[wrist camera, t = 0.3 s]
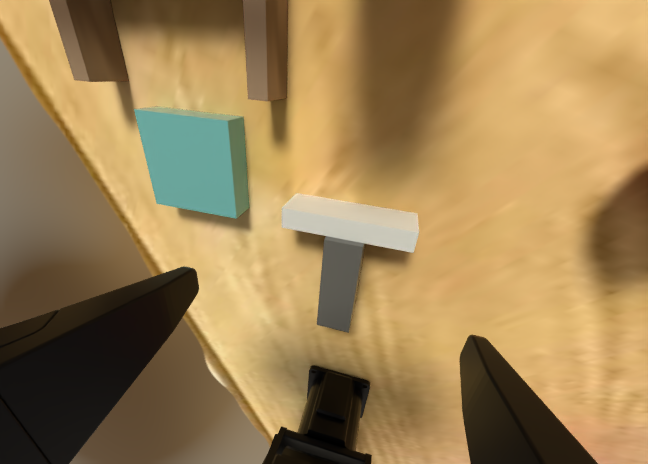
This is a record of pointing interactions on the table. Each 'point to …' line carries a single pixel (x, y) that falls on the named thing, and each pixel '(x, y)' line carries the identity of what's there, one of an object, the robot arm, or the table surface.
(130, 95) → the table surface
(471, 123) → the table surface
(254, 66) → the tile bay
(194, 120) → the tile
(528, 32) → the table surface
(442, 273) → the table surface
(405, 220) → the pusher
